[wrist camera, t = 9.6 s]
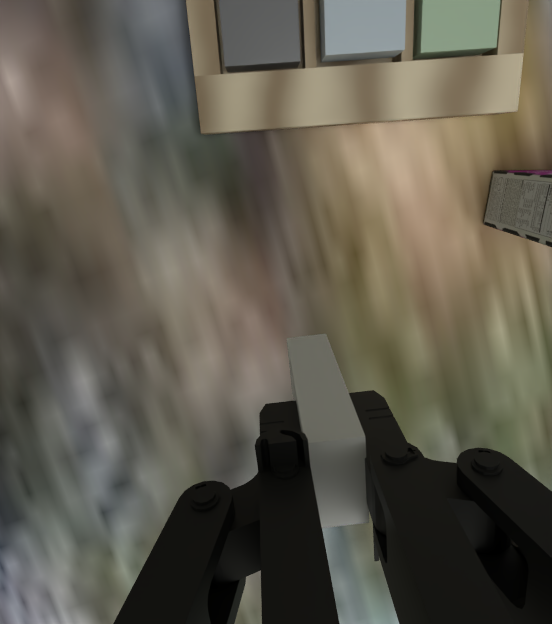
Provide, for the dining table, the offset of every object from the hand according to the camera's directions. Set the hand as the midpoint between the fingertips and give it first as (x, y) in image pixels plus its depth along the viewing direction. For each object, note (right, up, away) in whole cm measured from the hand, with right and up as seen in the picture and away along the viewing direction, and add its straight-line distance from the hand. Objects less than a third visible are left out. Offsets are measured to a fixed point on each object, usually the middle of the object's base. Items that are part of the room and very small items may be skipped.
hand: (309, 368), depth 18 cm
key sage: (+12, +24, +17) cm, 32 cm away
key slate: (+5, +23, +15) cm, 28 cm away
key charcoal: (-2, +23, +17) cm, 29 cm away
